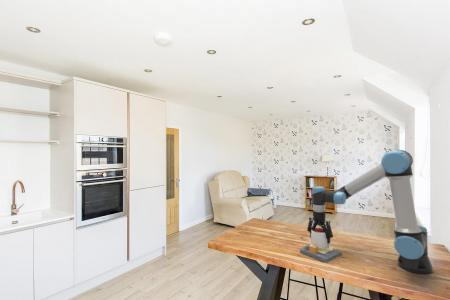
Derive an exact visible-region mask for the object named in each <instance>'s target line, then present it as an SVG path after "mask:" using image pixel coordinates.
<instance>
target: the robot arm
mask: <svg viewBox="0 0 450 300" xmlns="http://www.w3.org/2000/svg"><path fill="white" fill-rule="evenodd" d="M380 161H381V163H380V164H378V165H376V166H374V167H373V168H372V169H370V170H369V171H367V172H365V173H363V174H362V175H360V176H359V177H358V176H357V178H355V179H353V180H352V181H349V182H348V183H347V184H345V185H344V186H342V187H340V188H337V189H335V190H326V189H325V187H324V186H322V185H321V186H318V185H317V186H316V185H315V186H312V189H311V192H312V193H311V194H312V210H313V211H312V216H311V217H308V223H307V224H308V225H307V232H308V233H309V238H310V244H312V236H311V229H312V230H314V229H315V228H317V226H319V227H320V228H322V229H323V231H324V233H325V235H326V237H327V238H325V240H326V249H328V248H329V247H330V244H331V239H332V238H334V234H333V231H332V227H331V221H330V220H326V204H333V205H345V203H346V200H348V199H349V198H351V197H352V196H354V195H356V194H359V192H362V191H363V190H365V189H366V188H369V187H370V186H372V185H374V184H376V183H378V182H380V181H381V180H383V179H385V178H386V179H388V180H389V185H390V192H391V193H390V194H391V198H392V205H393V211H394V217H395V225H396V226H394V228H393V234H394V242H393V246H394V247H393V248H394V249H395V251H396V252H397V254H399V255H398V258H397V266H399V267H400V268H401V269H403V270H405V271H408V272H410V273H414V274H419V275H420V274H422V275H429V274H432V273H433V270H434V269H433V268H434V267H433V265H432V262H431V260H430V257H429V255H428V253H429V252H428V251H429V248H428V247H429V246H428V234H429V233H428V229H427V228H426V227H425V226H423V225H418V222H417V221H418V220H417V217H416V208H415V203H414V198H413V192H412V191H413V190H412V186H411V185H412V184H411V178H412V177H413V176H414V175H413V168H412V165H413V163H414V162H413V161H414V159H413V156H412V155H411V153H409V152H408V151H406V150H403V149H393V150H388V151H387V152H385V153H384V154H383V156H382V158H381V160H380Z"/></svg>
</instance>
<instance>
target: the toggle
mask: <svg viewBox="0 0 450 300" xmlns="http://www.w3.org/2000/svg"><path fill="white" fill-rule="evenodd" d="M309 245H310V246H309V252H312V253H314V254H317V253H318V247H317V246H314V245H312V244H309Z"/></svg>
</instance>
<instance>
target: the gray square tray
mask: <svg viewBox="0 0 450 300" xmlns="http://www.w3.org/2000/svg"><path fill="white" fill-rule="evenodd" d="M310 245H311V244H306V245H303V246H302V247H303V248H301V249H299V253H300V254H302V255H304V256H307V257H308V258H309V257H310V258H312V259H314V260H318V261H319V262H321V263H324V264H327V263H329V262H330V261H333V260H335V259H337V258H339V257H341V256H342V254H343V253H342V251H340V250H337V249H334V248H332V247H330V246H329V248H328V249H326V248H318V253H317V254H314V253H312V252H309V246H310Z"/></svg>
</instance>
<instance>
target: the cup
mask: <svg viewBox="0 0 450 300" xmlns="http://www.w3.org/2000/svg"><path fill="white" fill-rule="evenodd" d="M311 236H312V243H311V245H314V246H317V247H318V248H326V240H325V238H327V237H326V235H325V233H324V231H323V229H322V228H321V227H316V228H315V229H314V230H312V229H311Z"/></svg>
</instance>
